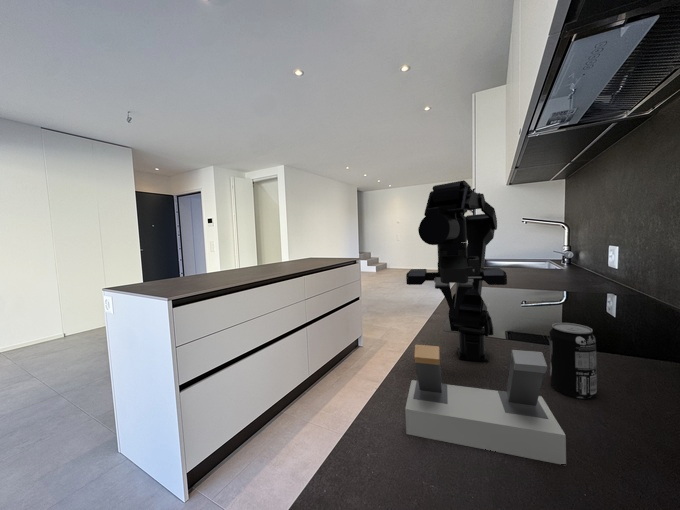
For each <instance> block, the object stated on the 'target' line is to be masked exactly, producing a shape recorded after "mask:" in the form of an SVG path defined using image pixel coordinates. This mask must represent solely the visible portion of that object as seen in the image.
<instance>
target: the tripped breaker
mask: <svg viewBox="0 0 680 510" xmlns="http://www.w3.org/2000/svg"><path fill="white" fill-rule="evenodd" d="M440 350H441V349H440V346H437V345H427V344H425V345H424V344H415V345H414V354H413V355H414V362H415V368H416V376H417V380H418V382H419V389H420V390H423V391H430V392H437V393H442V384H443V383H442V368H441V355H440V353H441V351H440Z"/></svg>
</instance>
